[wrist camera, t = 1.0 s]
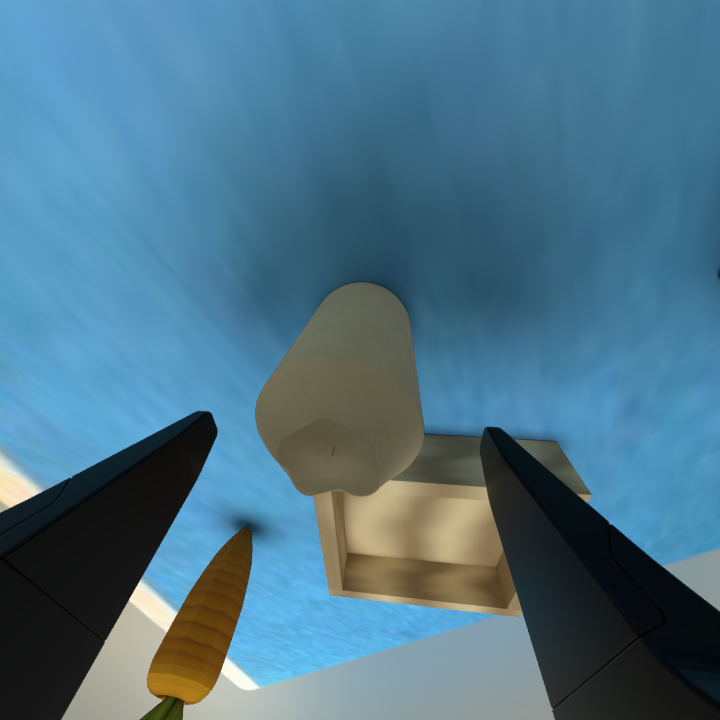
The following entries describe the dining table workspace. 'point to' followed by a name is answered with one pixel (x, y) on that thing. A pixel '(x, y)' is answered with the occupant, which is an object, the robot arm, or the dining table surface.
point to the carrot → (201, 632)
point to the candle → (345, 396)
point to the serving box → (429, 531)
